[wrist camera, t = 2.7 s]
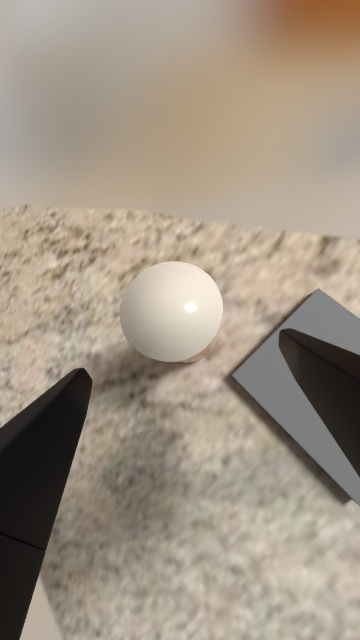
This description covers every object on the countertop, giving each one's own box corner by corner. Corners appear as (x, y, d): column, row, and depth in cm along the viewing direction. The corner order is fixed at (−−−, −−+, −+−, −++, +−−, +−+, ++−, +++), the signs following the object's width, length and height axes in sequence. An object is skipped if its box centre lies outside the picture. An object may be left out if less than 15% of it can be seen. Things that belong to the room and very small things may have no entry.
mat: (352, 499, 14) (363, 509, 13) (230, 375, 17) (231, 375, 16) (444, 392, 15) (461, 394, 14) (312, 292, 18) (318, 288, 17)
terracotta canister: (187, 375, 18) (165, 385, 8) (154, 338, 19) (100, 308, 9) (224, 339, 18) (245, 307, 8) (189, 305, 19) (172, 243, 10)
